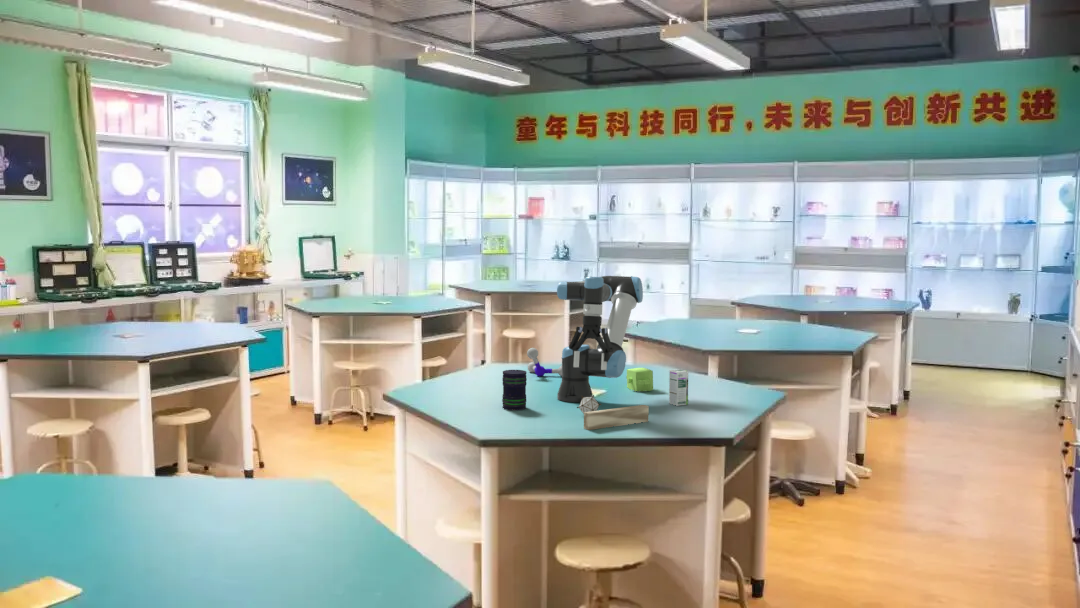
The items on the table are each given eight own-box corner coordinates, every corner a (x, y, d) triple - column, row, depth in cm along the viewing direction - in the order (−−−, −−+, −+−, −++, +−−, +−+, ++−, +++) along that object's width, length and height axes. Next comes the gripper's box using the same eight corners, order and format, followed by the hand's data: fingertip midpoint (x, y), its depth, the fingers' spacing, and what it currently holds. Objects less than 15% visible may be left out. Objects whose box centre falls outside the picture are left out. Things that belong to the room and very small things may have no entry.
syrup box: (676, 406, 361) (677, 371, 360) (668, 403, 367) (669, 369, 365) (688, 405, 364) (689, 370, 363) (679, 402, 369) (680, 368, 368)
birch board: (583, 428, 320) (583, 412, 319) (643, 420, 334) (643, 404, 334) (588, 430, 317) (588, 413, 316) (648, 421, 332) (648, 406, 331)
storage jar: (518, 411, 347) (518, 374, 346) (497, 408, 352) (497, 372, 351) (530, 407, 356) (531, 371, 355) (510, 404, 361) (510, 368, 359)
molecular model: (569, 379, 422) (569, 349, 420) (526, 379, 422) (526, 348, 421) (568, 372, 443) (568, 343, 442) (527, 371, 443) (528, 342, 442)
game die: (592, 426, 340) (598, 409, 333) (572, 417, 341) (578, 400, 335) (599, 411, 346) (605, 394, 340) (579, 402, 348) (585, 385, 341)
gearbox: (619, 387, 405) (619, 367, 404) (639, 385, 408) (638, 365, 407) (635, 393, 388) (635, 372, 387) (656, 391, 391) (655, 371, 390)
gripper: (562, 313, 352) (559, 366, 352) (612, 316, 336) (610, 371, 336) (573, 314, 358) (570, 365, 358) (623, 316, 342) (621, 370, 342)
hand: (589, 368), depth 347 cm, fingers open, 13 cm apart
